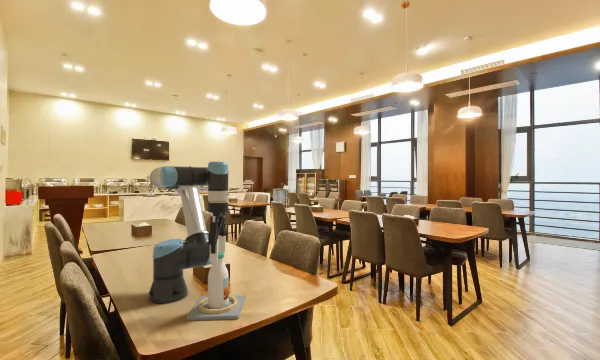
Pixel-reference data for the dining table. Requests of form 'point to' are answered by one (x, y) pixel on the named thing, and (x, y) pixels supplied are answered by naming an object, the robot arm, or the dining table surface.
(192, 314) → the ring board
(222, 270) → the milk bottle
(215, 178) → the robot arm
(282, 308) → the dining table surface
